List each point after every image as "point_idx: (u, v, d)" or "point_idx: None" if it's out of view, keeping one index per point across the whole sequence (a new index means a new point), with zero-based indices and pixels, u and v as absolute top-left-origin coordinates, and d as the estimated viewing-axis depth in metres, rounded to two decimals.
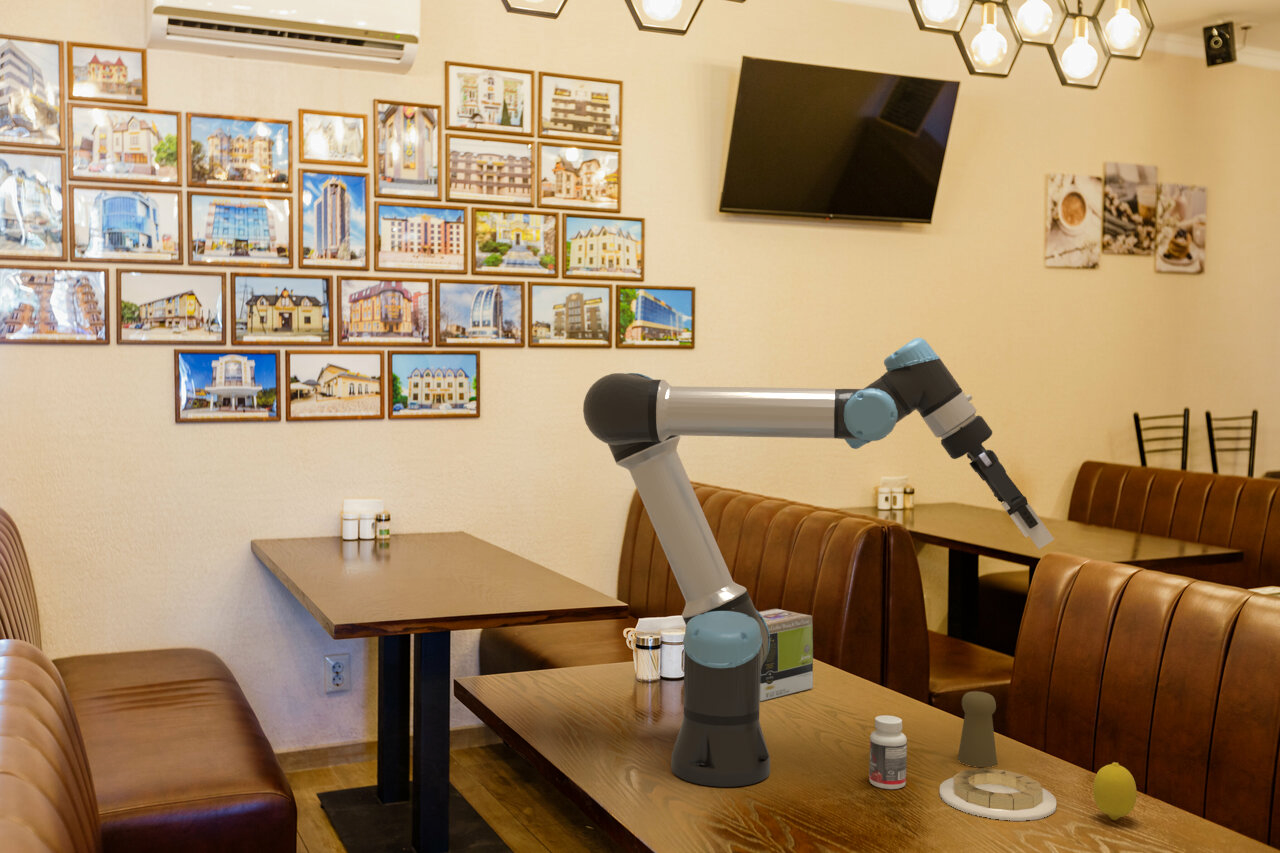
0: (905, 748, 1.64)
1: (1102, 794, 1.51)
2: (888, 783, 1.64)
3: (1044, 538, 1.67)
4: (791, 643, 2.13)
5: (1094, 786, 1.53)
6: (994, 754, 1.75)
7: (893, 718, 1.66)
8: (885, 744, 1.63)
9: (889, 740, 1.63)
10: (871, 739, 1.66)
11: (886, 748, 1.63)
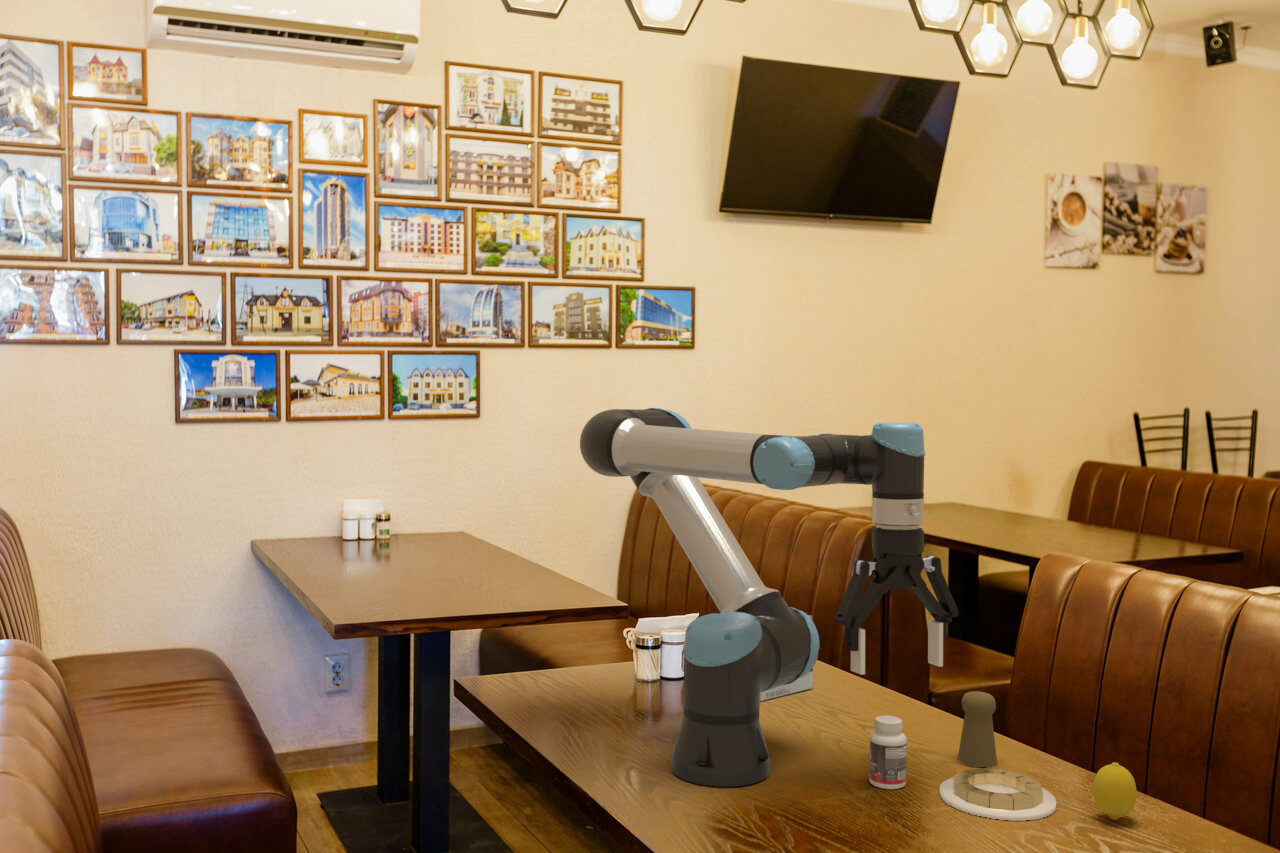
0: (905, 748, 1.64)
1: (1102, 794, 1.51)
2: (888, 783, 1.64)
3: (856, 666, 1.63)
4: None
5: (1094, 786, 1.53)
6: (994, 754, 1.75)
7: (893, 718, 1.66)
8: (885, 744, 1.63)
9: (889, 740, 1.63)
10: (871, 739, 1.66)
11: (886, 748, 1.63)
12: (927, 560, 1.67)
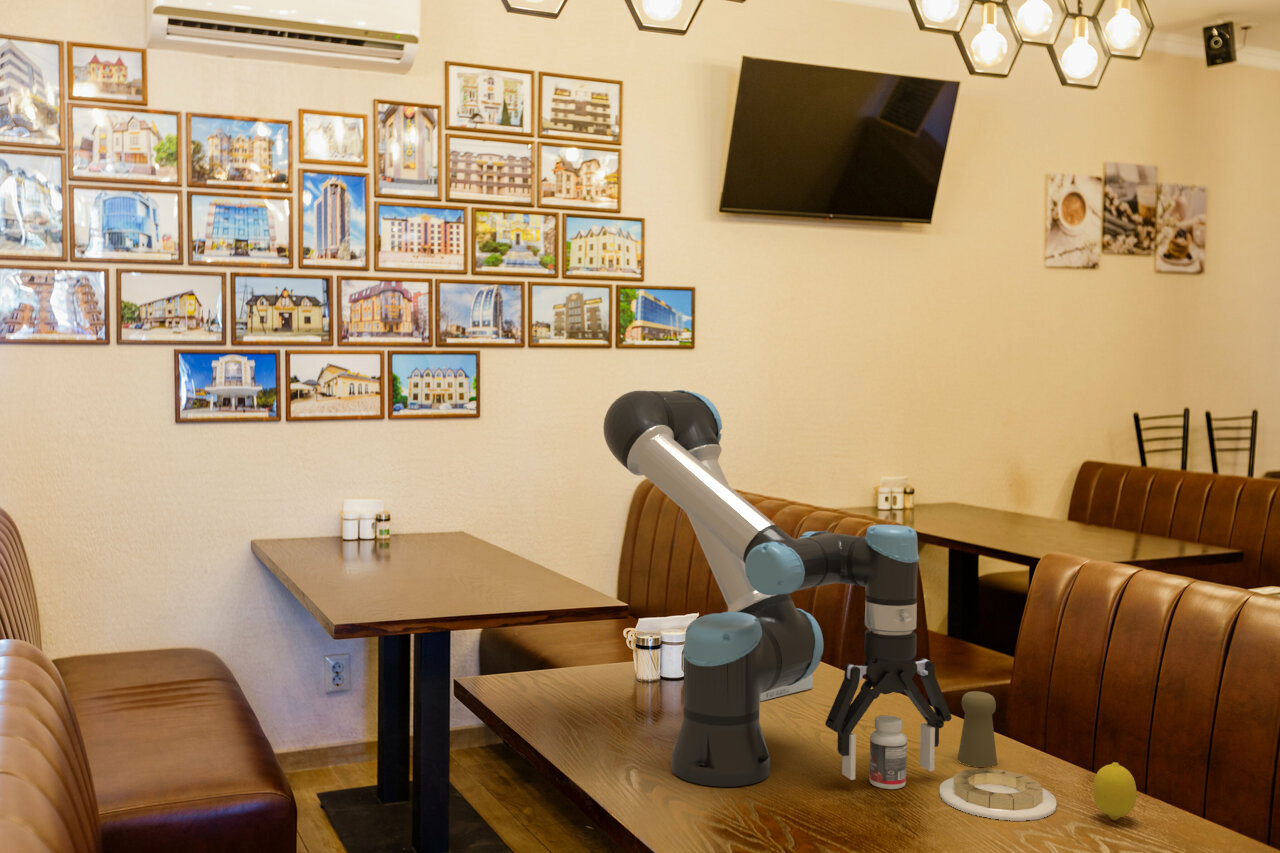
0: (905, 748, 1.64)
1: (1102, 794, 1.51)
2: (888, 783, 1.64)
3: (847, 771, 1.64)
4: None
5: (1094, 786, 1.53)
6: (994, 754, 1.75)
7: (893, 718, 1.66)
8: (885, 744, 1.63)
9: (889, 740, 1.63)
10: (871, 739, 1.66)
11: (886, 748, 1.63)
12: (920, 664, 1.67)
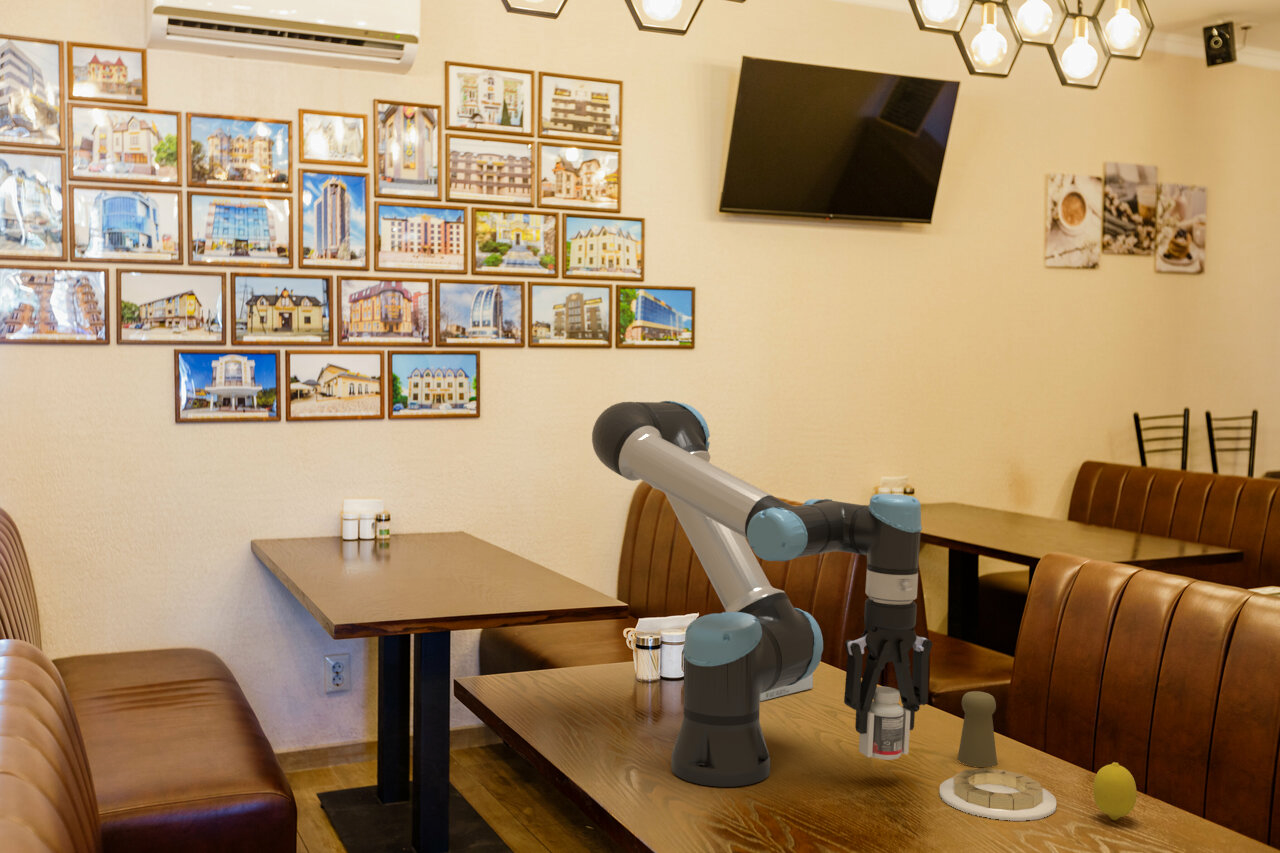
0: (902, 719, 1.65)
1: (1102, 794, 1.51)
2: (884, 753, 1.64)
3: (864, 748, 1.65)
4: None
5: (1094, 786, 1.53)
6: (994, 754, 1.75)
7: (890, 689, 1.66)
8: (882, 714, 1.64)
9: (886, 711, 1.64)
10: None
11: (882, 718, 1.64)
12: (920, 639, 1.67)
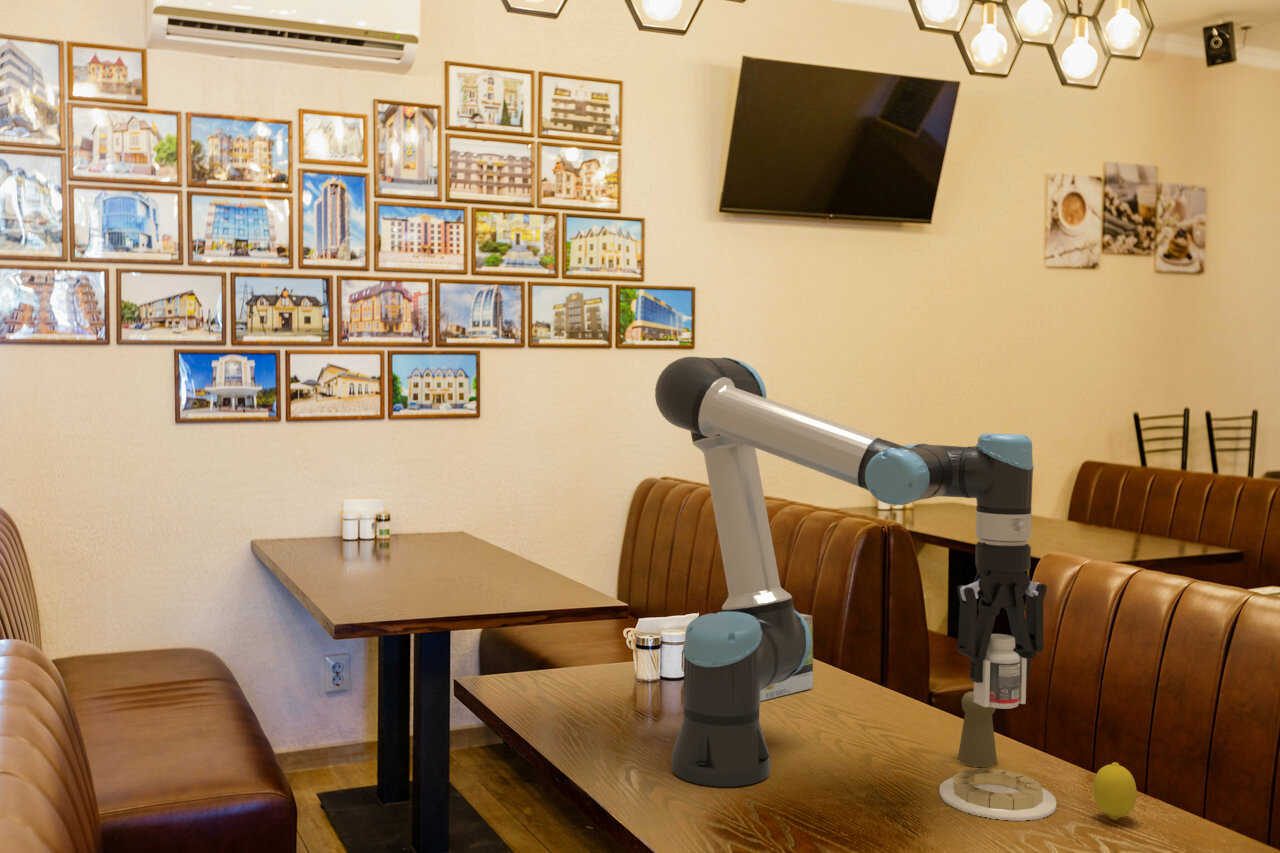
0: (1019, 666, 1.58)
1: (1102, 794, 1.51)
2: (1002, 702, 1.57)
3: (980, 698, 1.58)
4: None
5: (1094, 786, 1.53)
6: (994, 754, 1.75)
7: (1005, 636, 1.60)
8: (999, 661, 1.57)
9: (1003, 657, 1.57)
10: None
11: (999, 665, 1.57)
12: (1033, 583, 1.60)
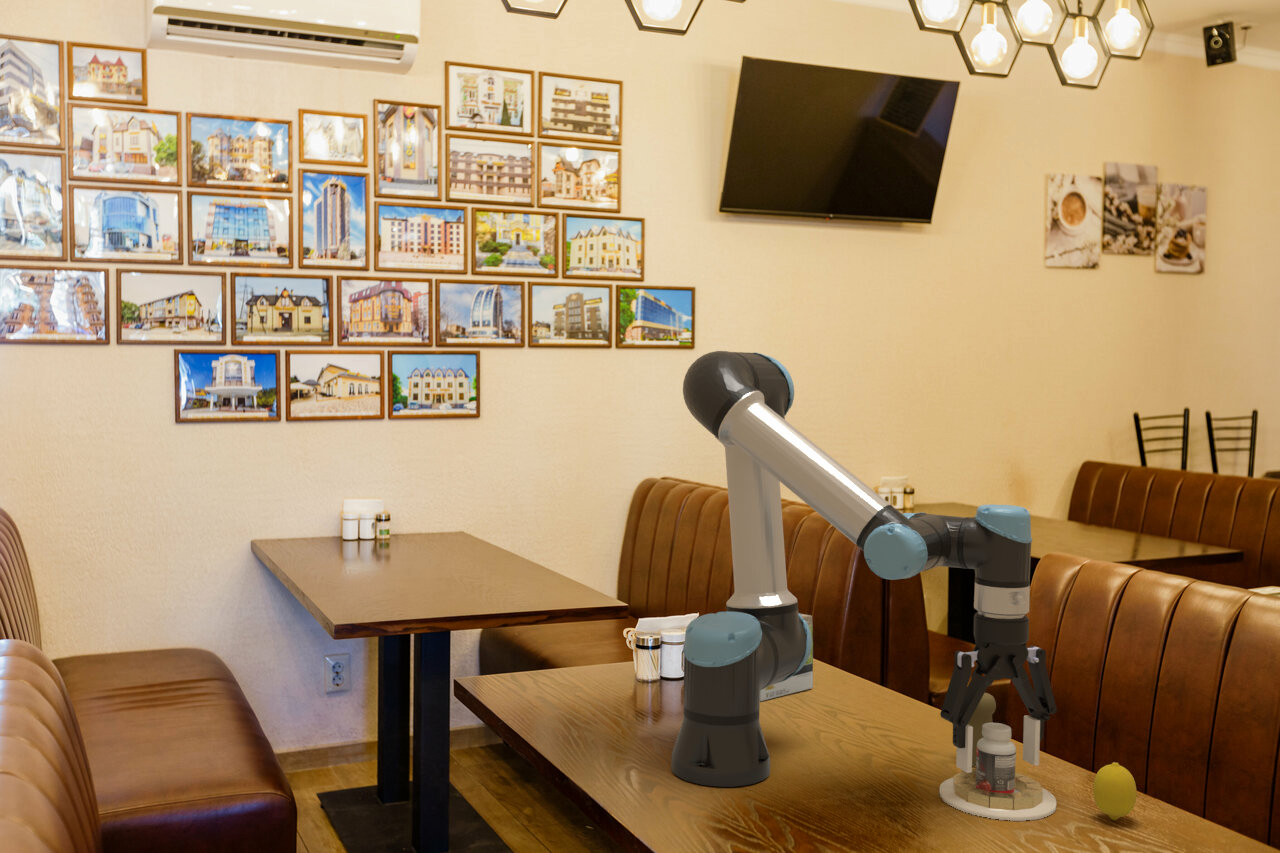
0: (1014, 757, 1.59)
1: (1102, 794, 1.51)
2: None
3: (962, 763, 1.58)
4: None
5: (1094, 786, 1.53)
6: None
7: (1001, 726, 1.60)
8: (995, 752, 1.58)
9: (999, 749, 1.58)
10: (979, 747, 1.60)
11: (995, 756, 1.58)
12: (1032, 650, 1.61)
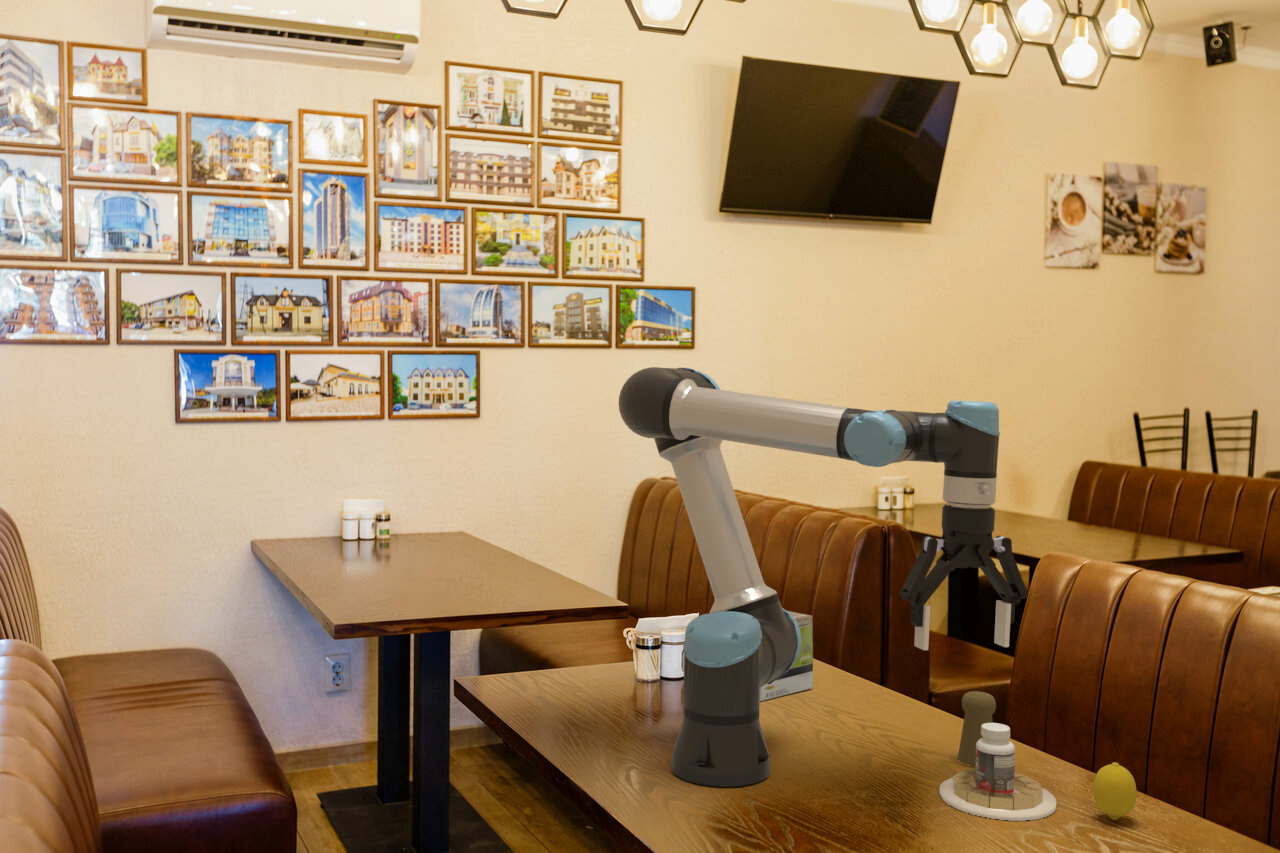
0: (1014, 757, 1.59)
1: (1102, 794, 1.51)
2: None
3: (920, 642, 1.64)
4: None
5: (1094, 786, 1.53)
6: None
7: (1000, 725, 1.60)
8: (994, 752, 1.58)
9: (998, 749, 1.58)
10: (978, 747, 1.60)
11: (994, 757, 1.58)
12: (997, 540, 1.66)
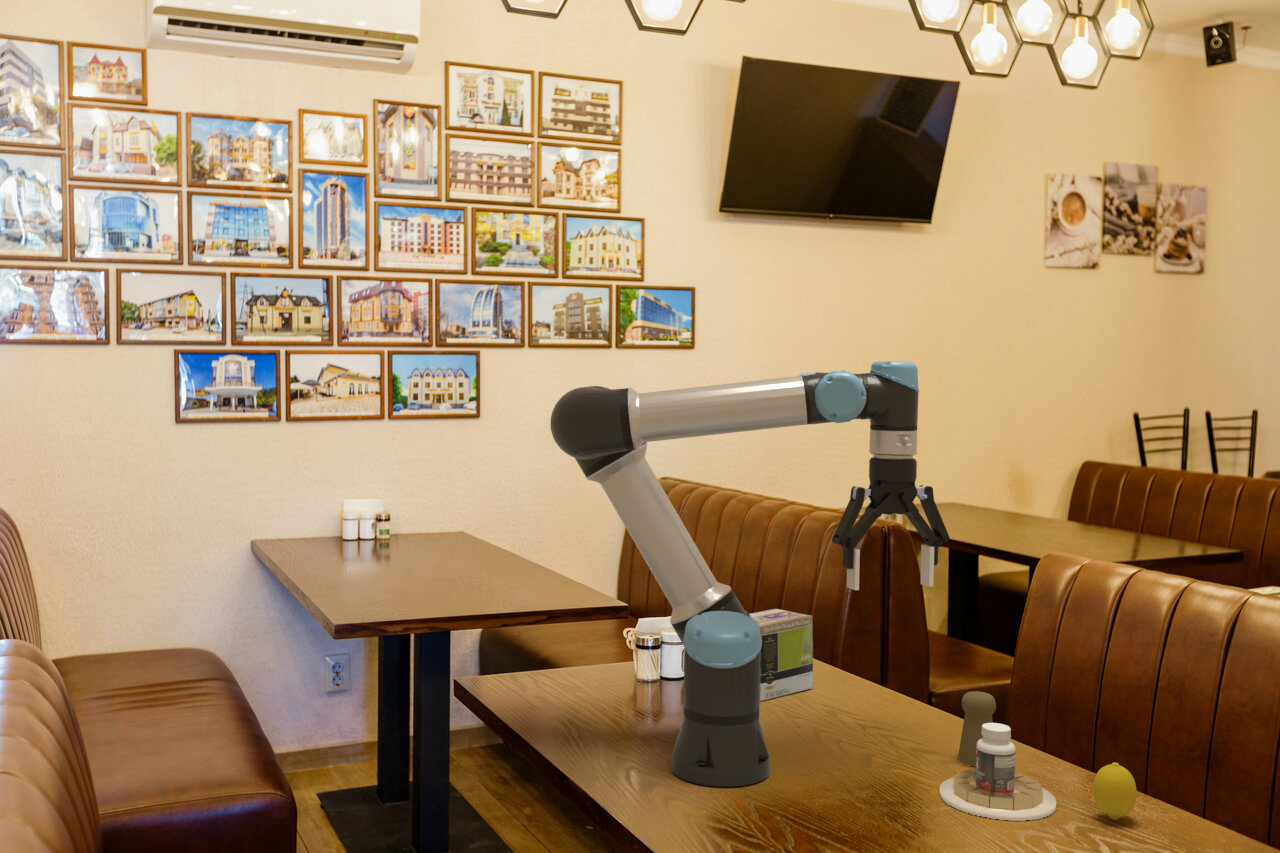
0: (1014, 757, 1.59)
1: (1102, 794, 1.51)
2: None
3: (851, 583, 1.79)
4: (791, 643, 2.13)
5: (1094, 786, 1.53)
6: None
7: (1001, 726, 1.60)
8: (994, 752, 1.58)
9: (999, 749, 1.58)
10: (978, 747, 1.60)
11: (995, 757, 1.58)
12: (920, 489, 1.82)
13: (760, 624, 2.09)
